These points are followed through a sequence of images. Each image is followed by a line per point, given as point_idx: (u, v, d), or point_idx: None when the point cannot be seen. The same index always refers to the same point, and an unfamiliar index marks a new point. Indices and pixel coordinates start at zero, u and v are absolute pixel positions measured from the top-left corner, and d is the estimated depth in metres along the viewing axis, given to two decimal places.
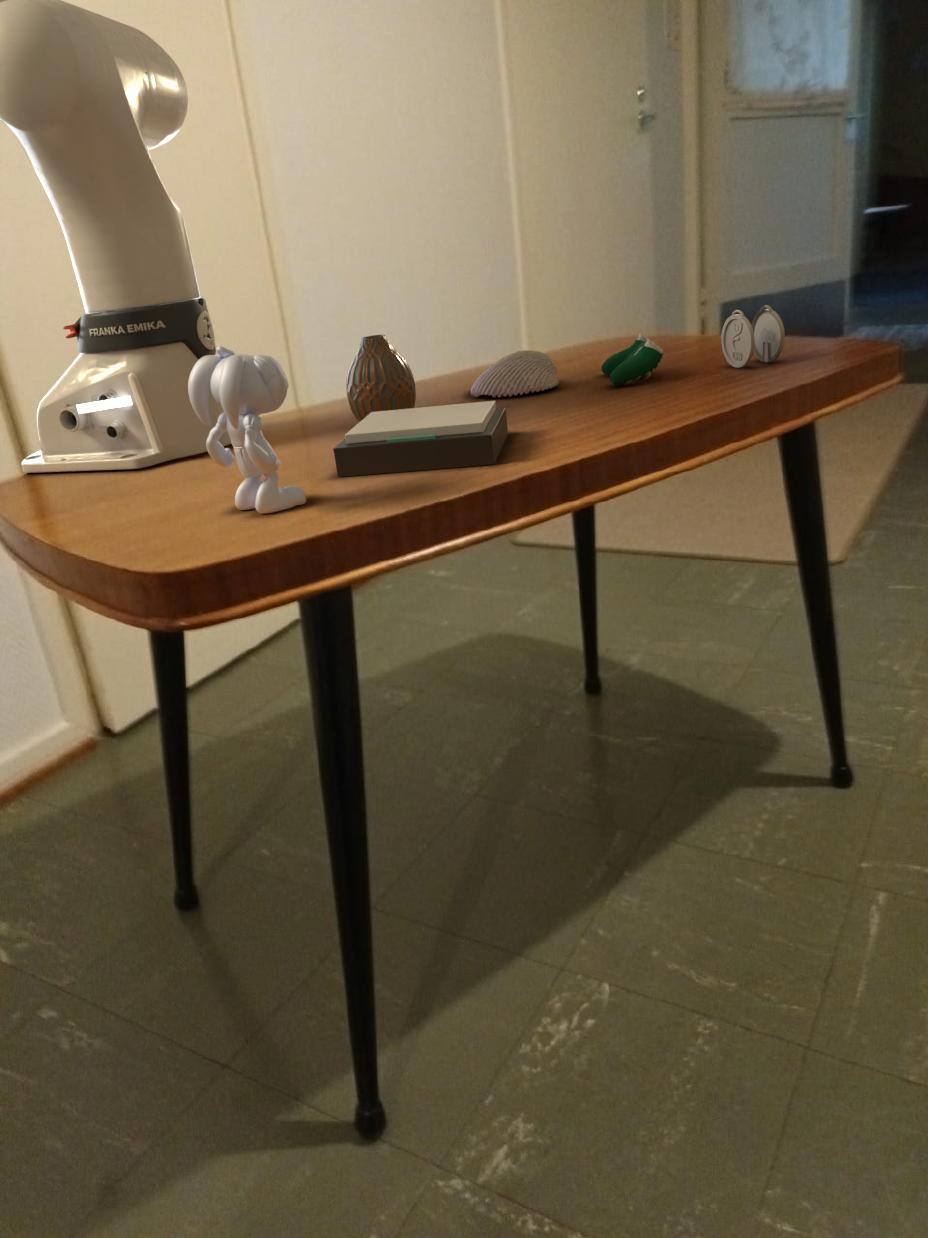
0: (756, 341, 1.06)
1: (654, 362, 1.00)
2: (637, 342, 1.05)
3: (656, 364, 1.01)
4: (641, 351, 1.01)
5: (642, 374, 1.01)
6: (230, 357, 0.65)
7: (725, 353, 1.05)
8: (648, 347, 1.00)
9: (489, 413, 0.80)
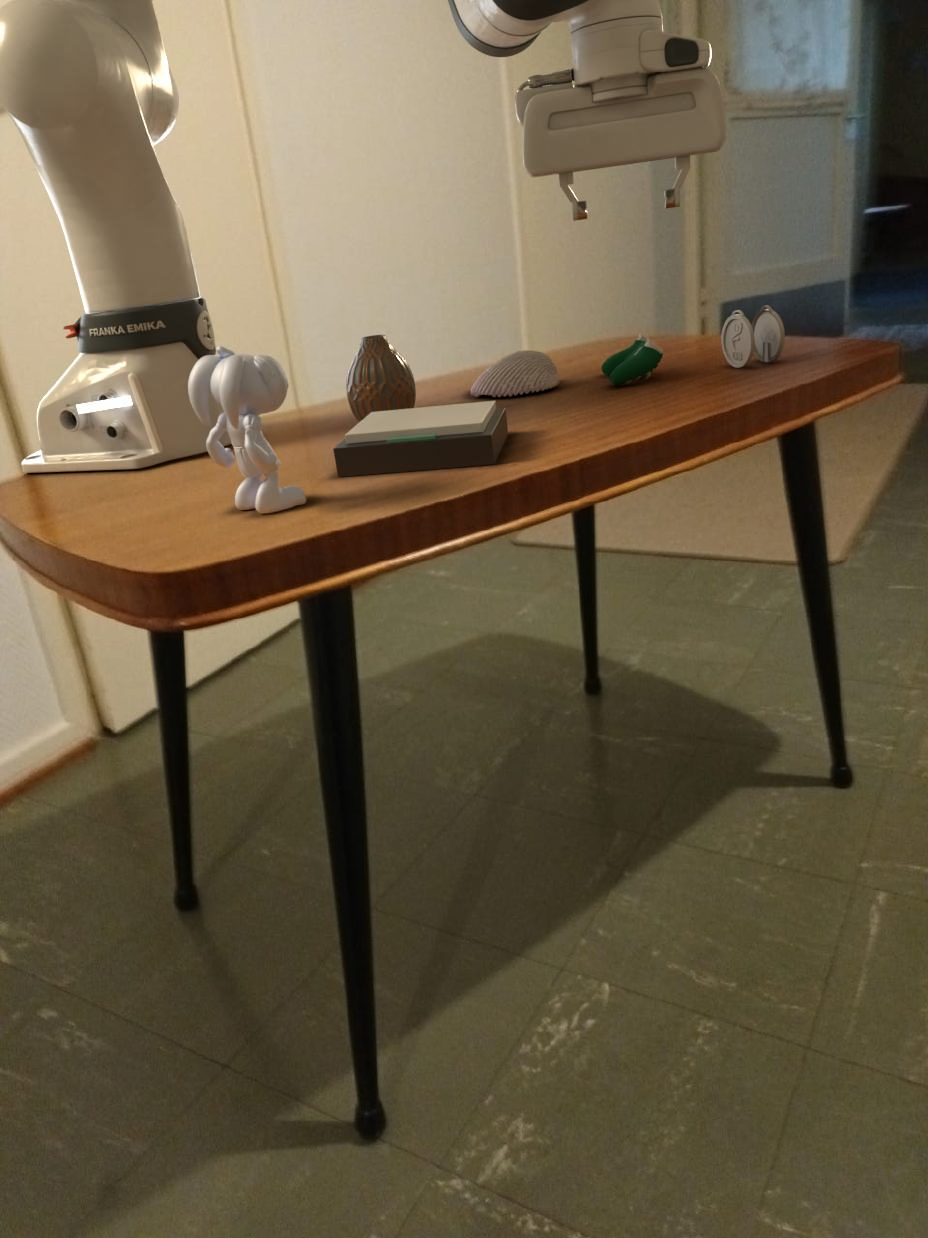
0: (756, 341, 1.06)
1: (654, 362, 1.00)
2: (637, 342, 1.05)
3: (656, 364, 1.01)
4: (641, 351, 1.01)
5: (642, 374, 1.01)
6: (230, 357, 0.65)
7: (725, 353, 1.05)
8: (648, 347, 1.00)
9: (489, 413, 0.80)
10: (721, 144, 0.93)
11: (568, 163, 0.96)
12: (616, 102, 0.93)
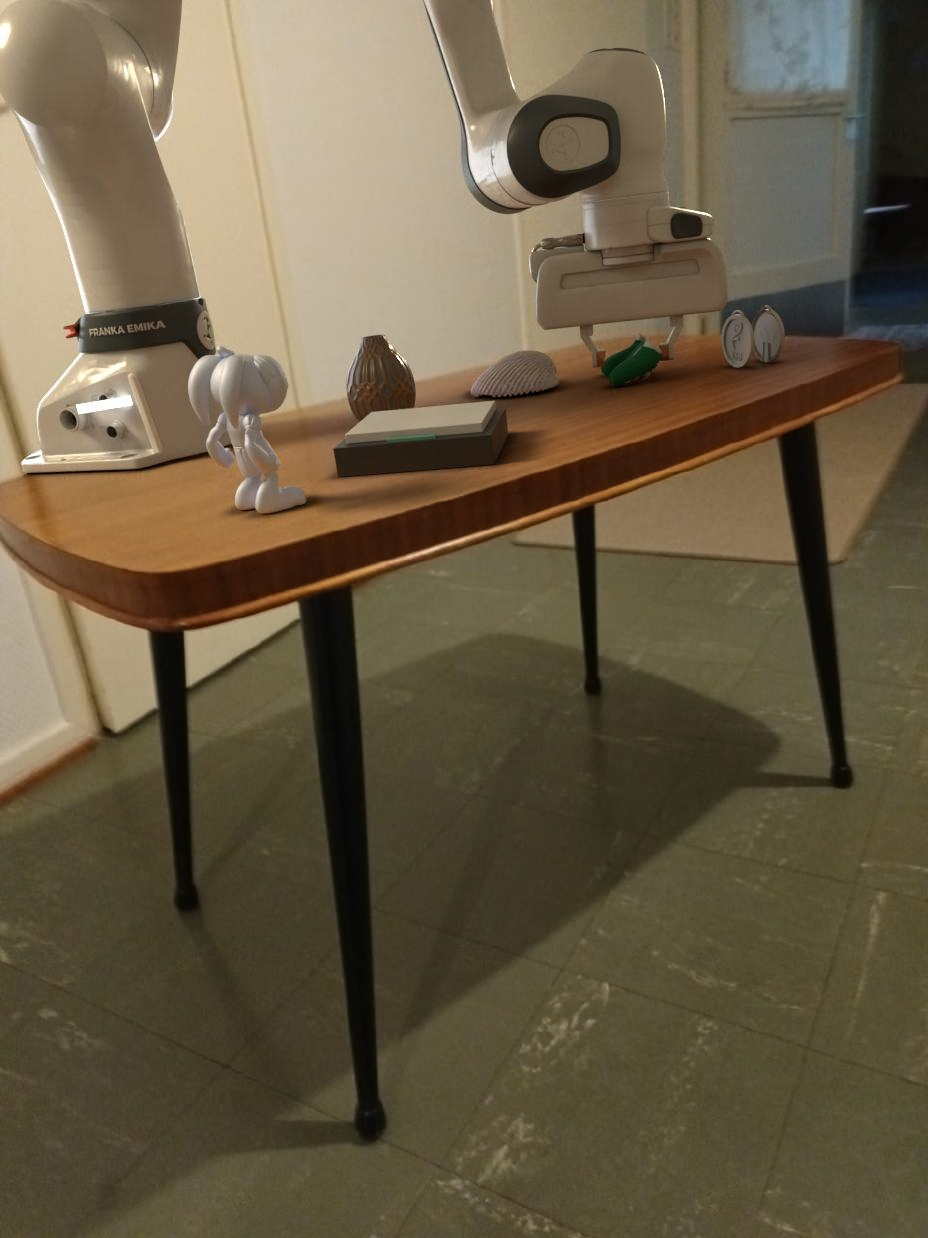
0: (756, 341, 1.06)
1: (653, 362, 1.00)
2: (636, 342, 1.05)
3: (655, 364, 1.01)
4: (640, 351, 1.01)
5: (641, 374, 1.01)
6: (230, 357, 0.65)
7: (725, 353, 1.05)
8: (648, 347, 1.00)
9: (489, 413, 0.80)
10: (723, 306, 0.99)
11: (579, 319, 1.01)
12: (625, 266, 0.99)
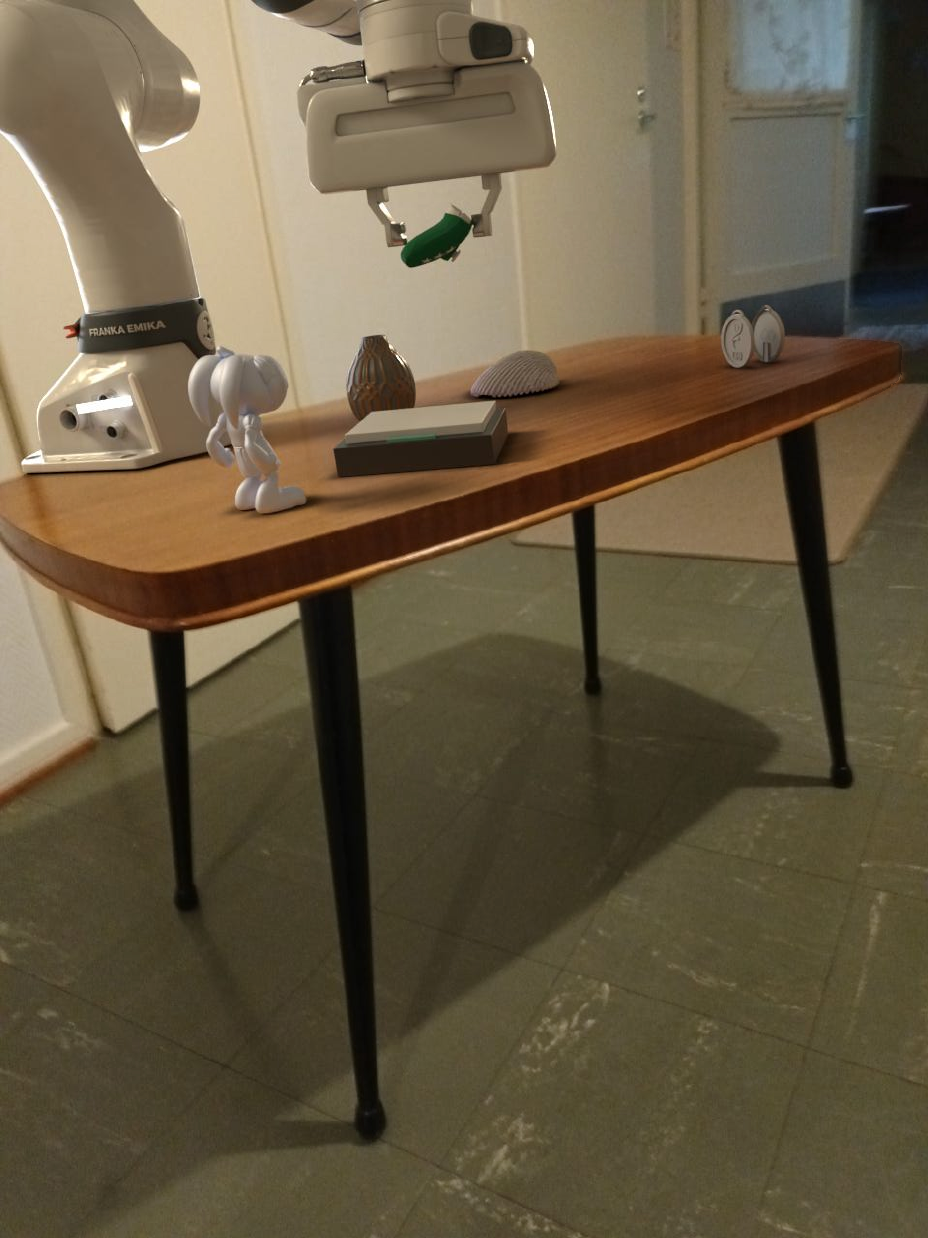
0: (756, 341, 1.06)
1: (458, 234, 0.76)
2: None
3: (461, 237, 0.76)
4: (442, 220, 0.76)
5: (443, 250, 0.76)
6: (230, 357, 0.65)
7: (725, 353, 1.05)
8: (451, 214, 0.76)
9: (489, 413, 0.80)
10: (549, 158, 0.74)
11: (363, 178, 0.77)
12: (417, 103, 0.74)
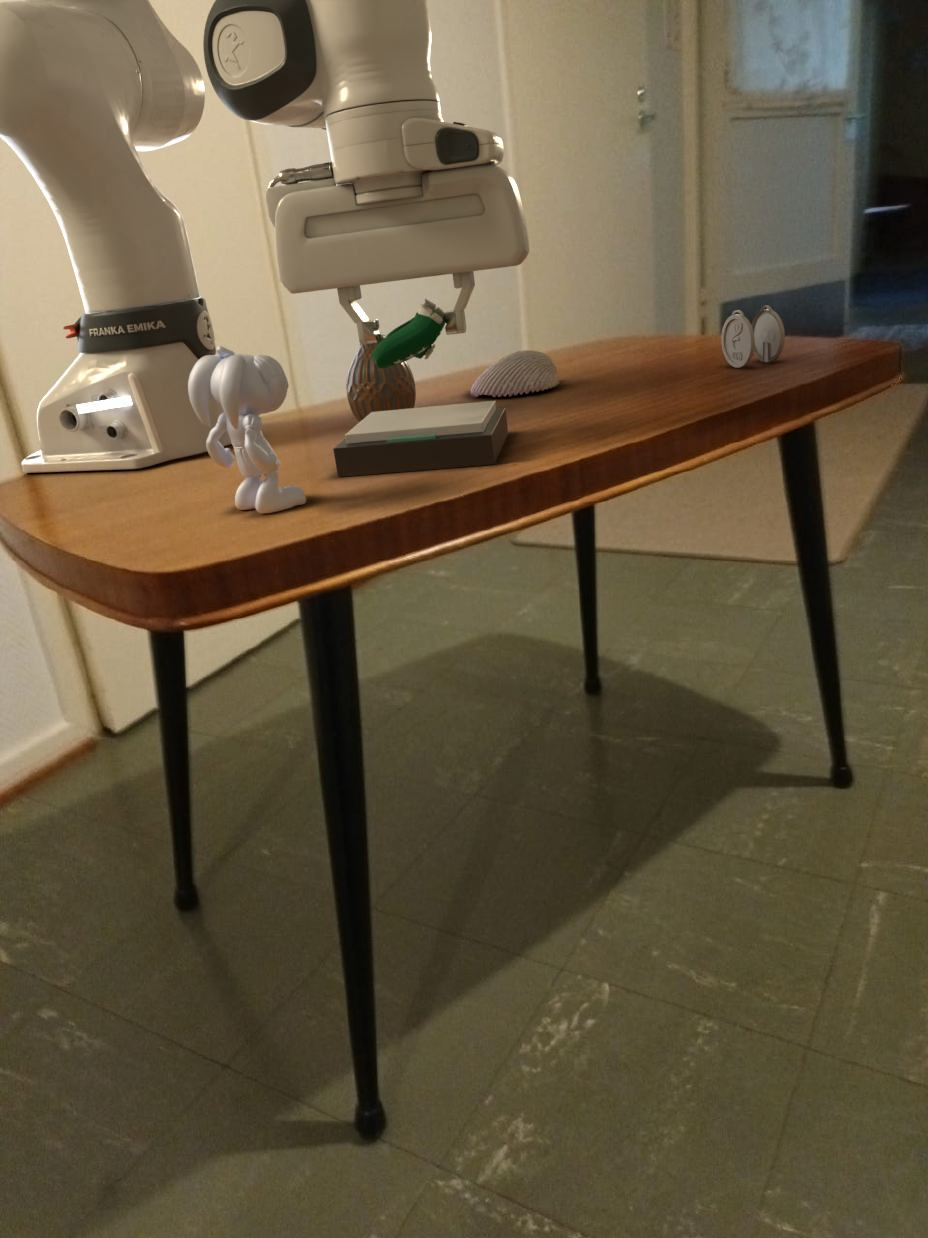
0: (756, 341, 1.06)
1: (429, 335, 0.74)
2: None
3: (433, 338, 0.75)
4: (413, 320, 0.75)
5: (414, 351, 0.75)
6: (230, 357, 0.65)
7: (725, 353, 1.05)
8: (422, 315, 0.74)
9: (489, 413, 0.80)
10: (520, 258, 0.73)
11: (333, 279, 0.76)
12: (386, 205, 0.73)
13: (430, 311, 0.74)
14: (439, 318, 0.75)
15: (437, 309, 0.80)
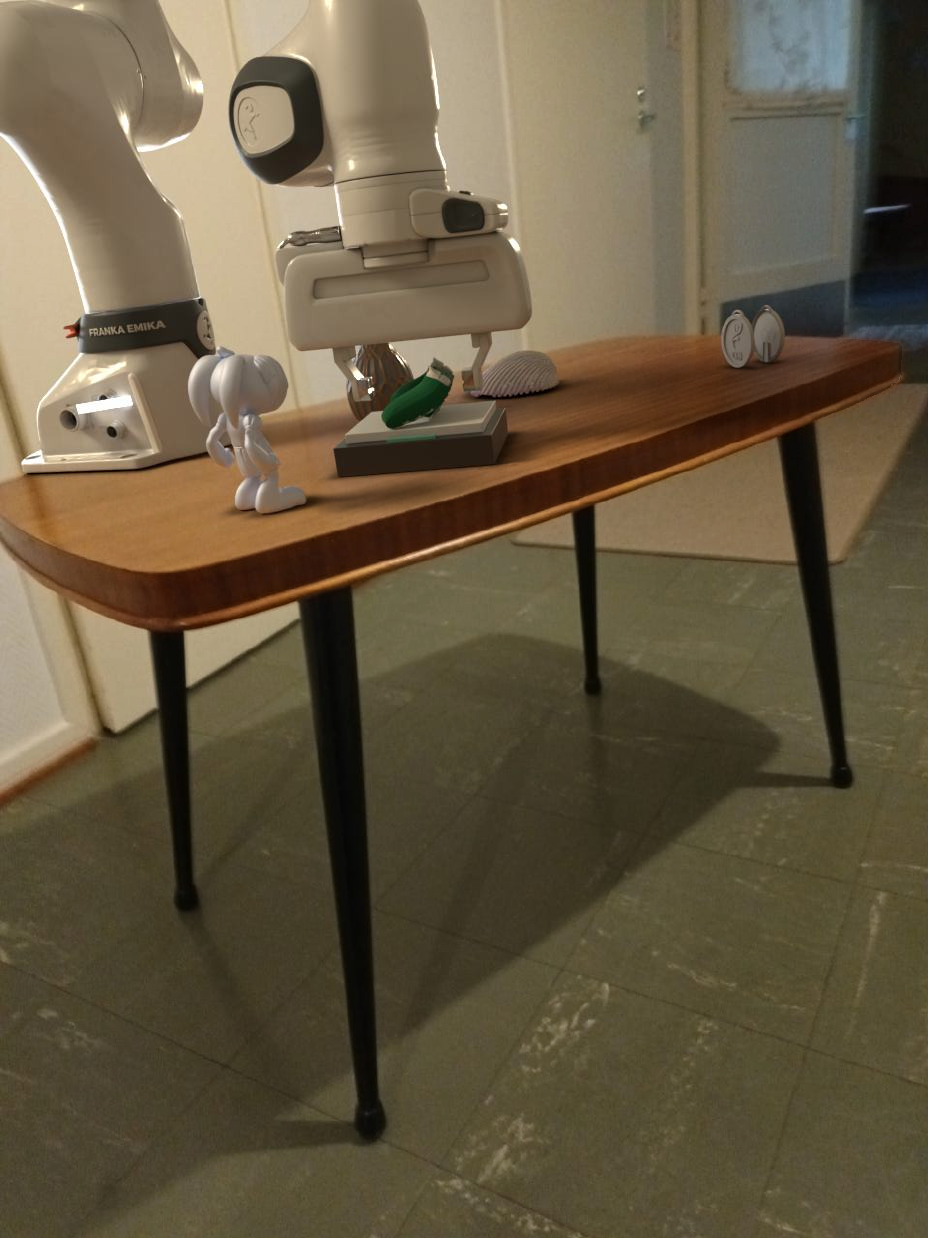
0: (756, 341, 1.06)
1: (438, 397, 0.76)
2: None
3: (441, 400, 0.77)
4: (422, 383, 0.77)
5: (423, 413, 0.77)
6: (230, 357, 0.65)
7: (725, 353, 1.05)
8: (430, 378, 0.76)
9: (489, 413, 0.80)
10: (523, 322, 0.75)
11: (340, 338, 0.77)
12: (393, 269, 0.75)
13: (438, 374, 0.76)
14: (447, 380, 0.77)
15: (445, 368, 0.81)
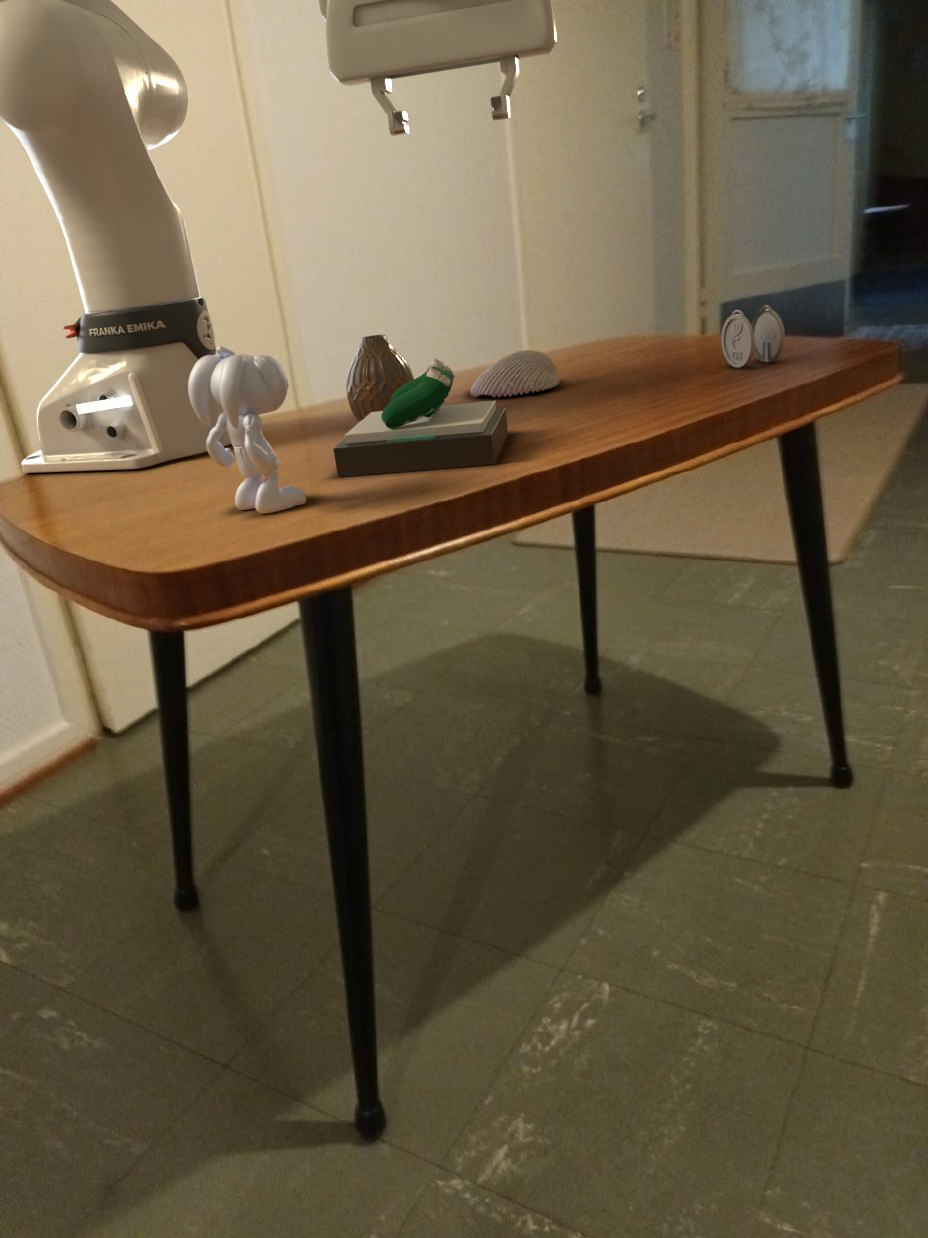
0: (756, 341, 1.06)
1: (438, 397, 0.76)
2: None
3: (441, 400, 0.77)
4: (422, 383, 0.77)
5: (423, 413, 0.77)
6: (230, 357, 0.65)
7: (725, 353, 1.05)
8: (430, 378, 0.76)
9: (489, 413, 0.80)
10: (549, 41, 0.81)
11: (378, 65, 0.83)
12: None
13: (438, 374, 0.76)
14: (447, 380, 0.77)
15: (445, 368, 0.81)
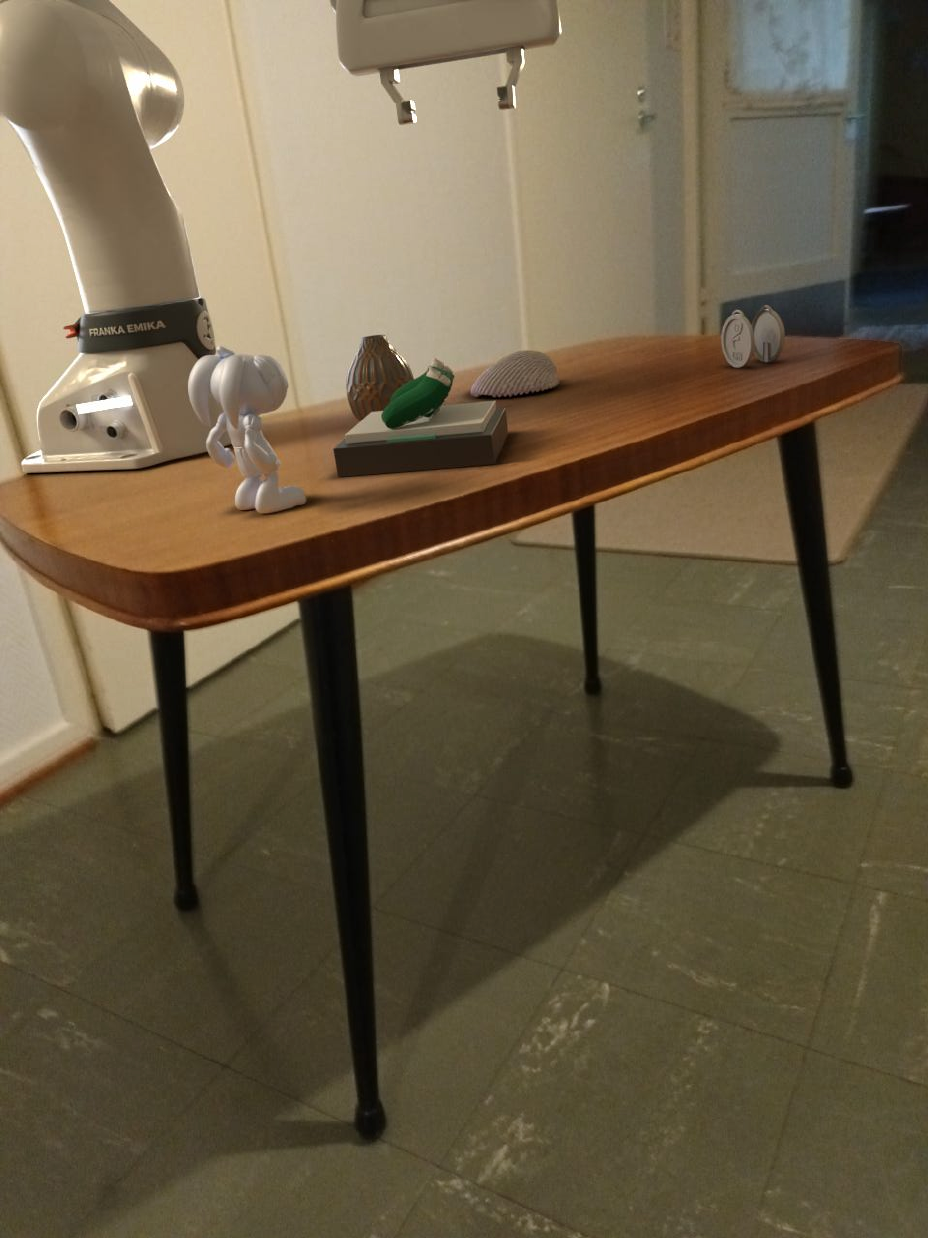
0: (756, 341, 1.06)
1: (438, 397, 0.76)
2: None
3: (441, 400, 0.77)
4: (422, 383, 0.77)
5: (423, 413, 0.77)
6: (230, 357, 0.65)
7: (725, 353, 1.05)
8: (430, 378, 0.76)
9: (489, 413, 0.80)
10: (554, 32, 0.83)
11: (387, 56, 0.85)
12: None
13: (438, 374, 0.76)
14: (447, 380, 0.77)
15: (445, 368, 0.81)
